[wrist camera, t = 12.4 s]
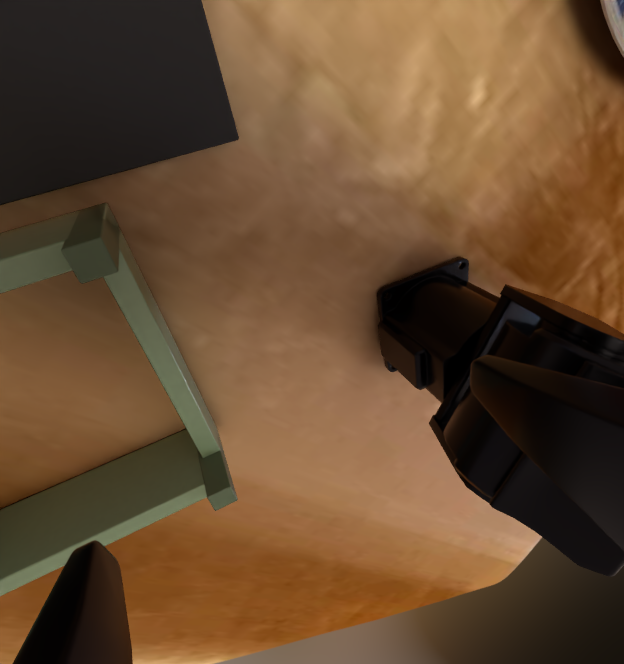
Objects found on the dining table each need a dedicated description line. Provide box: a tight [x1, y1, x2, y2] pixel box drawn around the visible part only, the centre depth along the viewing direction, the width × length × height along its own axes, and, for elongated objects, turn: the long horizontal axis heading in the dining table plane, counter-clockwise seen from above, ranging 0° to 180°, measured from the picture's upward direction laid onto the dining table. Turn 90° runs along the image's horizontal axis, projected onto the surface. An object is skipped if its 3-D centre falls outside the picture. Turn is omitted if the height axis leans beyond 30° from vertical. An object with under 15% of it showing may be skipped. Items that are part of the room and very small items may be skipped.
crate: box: [0, 203, 237, 596], centre depth 16 cm, size 14×14×6 cm
